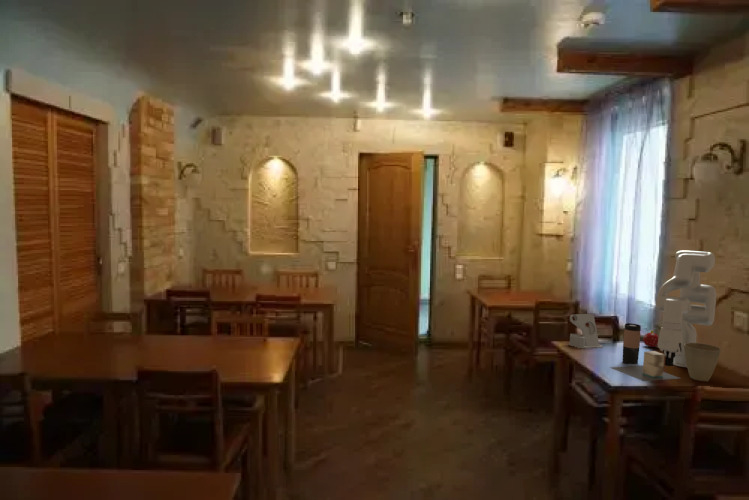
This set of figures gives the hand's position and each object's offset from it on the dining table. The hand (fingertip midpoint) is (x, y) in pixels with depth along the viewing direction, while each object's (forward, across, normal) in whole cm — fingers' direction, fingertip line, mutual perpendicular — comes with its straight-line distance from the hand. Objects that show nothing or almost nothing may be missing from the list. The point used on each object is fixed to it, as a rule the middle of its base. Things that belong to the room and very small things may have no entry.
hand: (668, 365), depth 256 cm
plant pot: (+8, -1, +20) cm, 22 cm away
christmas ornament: (+8, -59, +48) cm, 76 cm away
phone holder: (+8, -68, +9) cm, 69 cm away
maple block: (+8, -9, 0) cm, 12 cm away
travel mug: (+8, -32, +8) cm, 34 cm away
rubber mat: (+8, -14, 0) cm, 16 cm away
